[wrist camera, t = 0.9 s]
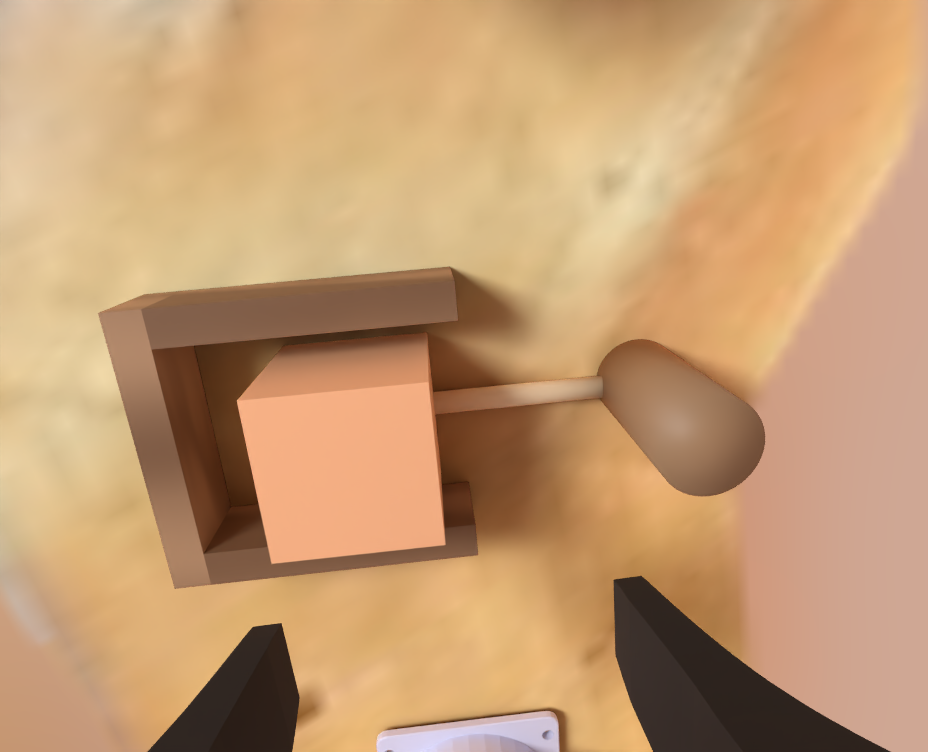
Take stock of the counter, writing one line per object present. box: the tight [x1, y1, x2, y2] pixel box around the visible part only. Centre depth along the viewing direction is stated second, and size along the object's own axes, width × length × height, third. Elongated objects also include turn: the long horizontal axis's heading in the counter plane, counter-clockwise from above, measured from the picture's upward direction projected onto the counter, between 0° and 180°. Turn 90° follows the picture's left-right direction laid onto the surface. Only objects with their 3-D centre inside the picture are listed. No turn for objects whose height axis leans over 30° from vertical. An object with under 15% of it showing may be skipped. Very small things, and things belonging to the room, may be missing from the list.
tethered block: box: [237, 332, 765, 564], centre depth 19 cm, size 5×14×6 cm, turn 95°
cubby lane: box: [98, 267, 478, 589], centre depth 20 cm, size 9×10×3 cm
